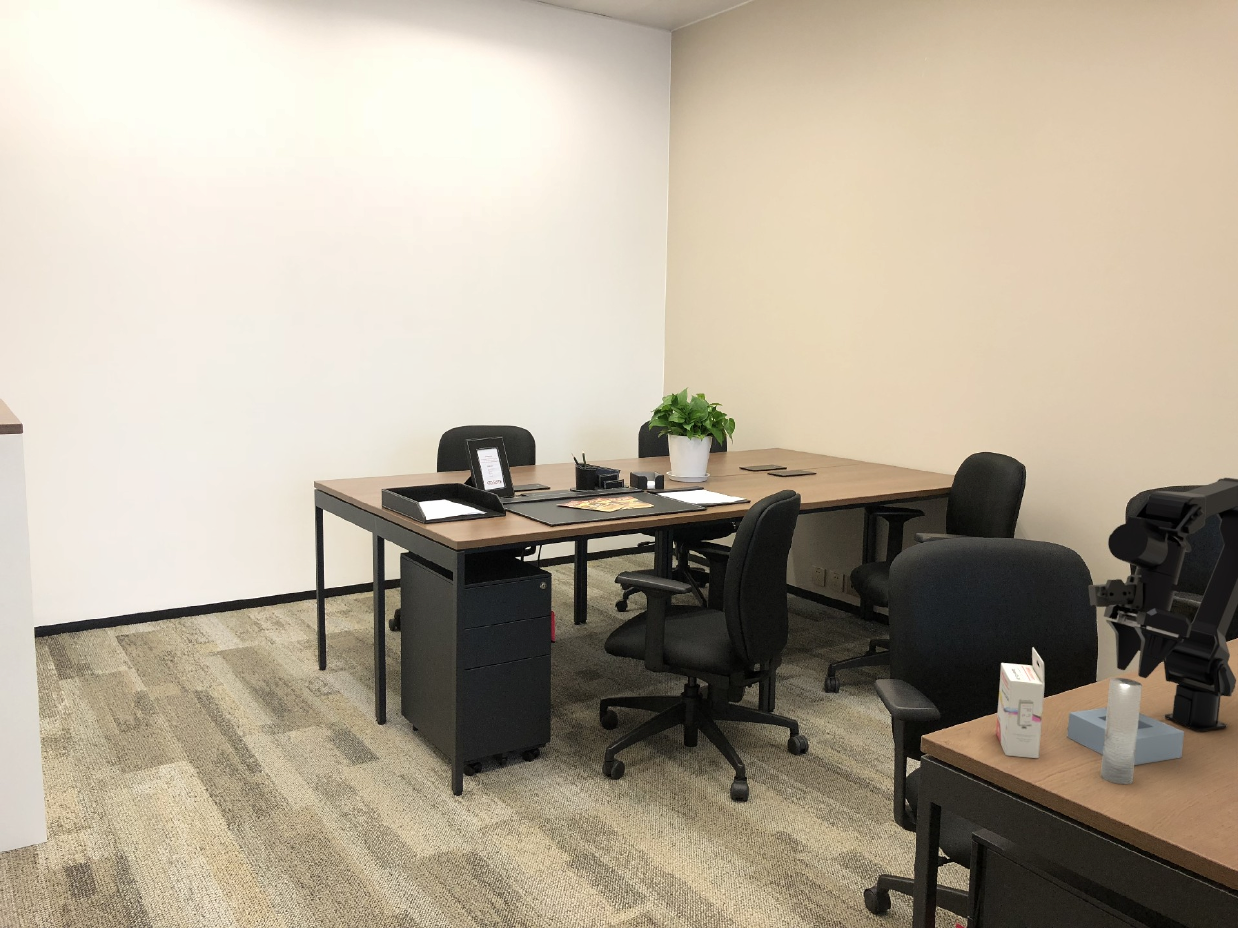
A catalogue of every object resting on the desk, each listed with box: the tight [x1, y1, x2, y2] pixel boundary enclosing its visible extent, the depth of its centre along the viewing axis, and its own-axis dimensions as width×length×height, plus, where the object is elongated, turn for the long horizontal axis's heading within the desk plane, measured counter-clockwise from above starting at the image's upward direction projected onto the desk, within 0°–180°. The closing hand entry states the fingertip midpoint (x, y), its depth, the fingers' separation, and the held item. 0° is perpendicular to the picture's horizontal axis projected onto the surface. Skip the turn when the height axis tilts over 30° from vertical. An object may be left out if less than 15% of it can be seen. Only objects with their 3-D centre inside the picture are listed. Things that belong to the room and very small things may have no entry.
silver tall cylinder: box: [1100, 677, 1143, 785], centre depth 135 cm, size 4×4×14 cm
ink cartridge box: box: [995, 646, 1045, 759], centre depth 145 cm, size 9×5×15 cm, turn 168°
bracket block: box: [1066, 707, 1185, 766], centre depth 146 cm, size 11×11×4 cm
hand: (1131, 673), depth 145 cm, fingers open, 9 cm apart
